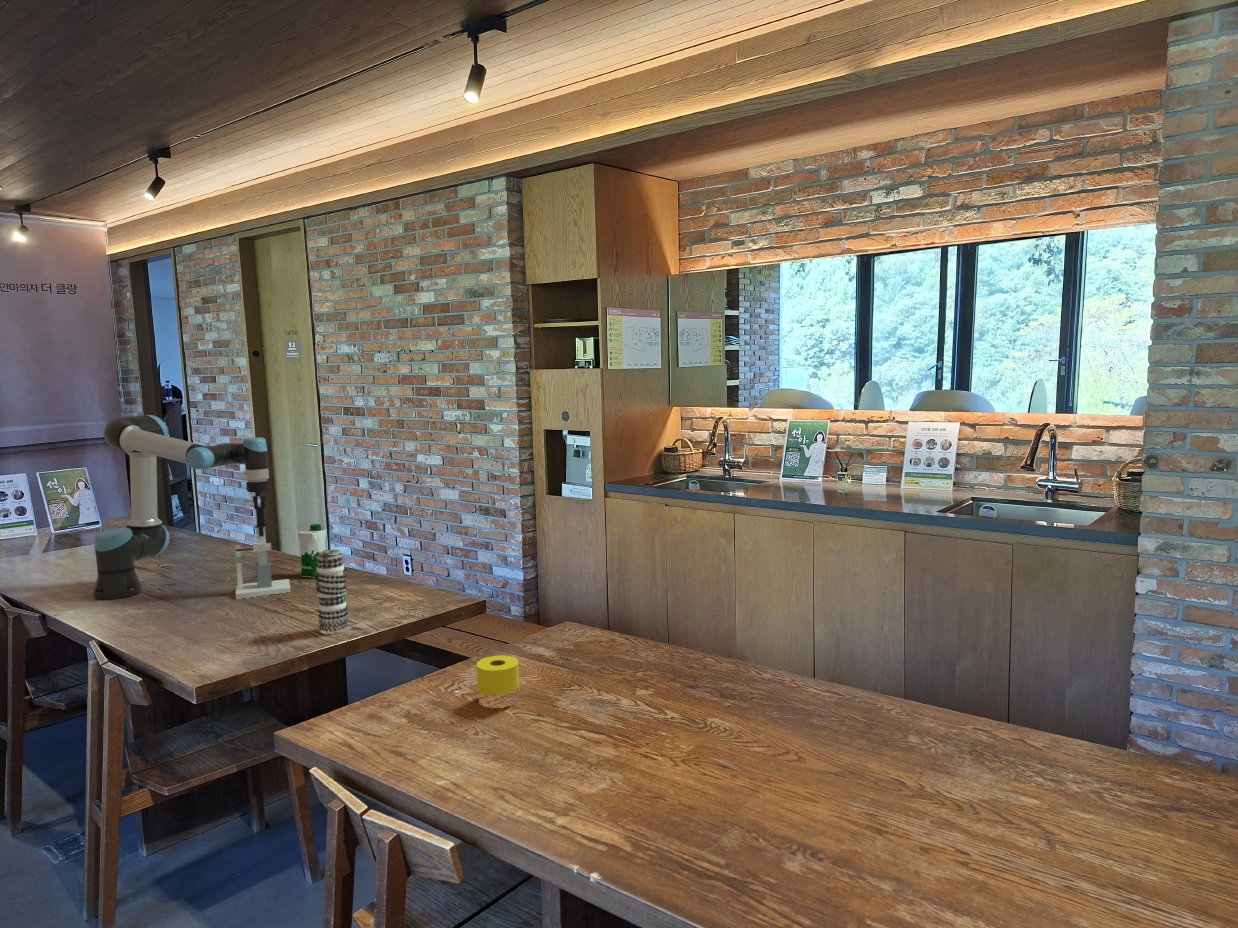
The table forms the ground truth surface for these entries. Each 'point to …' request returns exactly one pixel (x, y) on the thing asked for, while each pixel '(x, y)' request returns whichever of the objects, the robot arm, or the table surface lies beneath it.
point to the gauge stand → (258, 581)
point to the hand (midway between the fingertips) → (262, 544)
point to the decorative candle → (331, 590)
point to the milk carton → (311, 548)
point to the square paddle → (260, 552)
